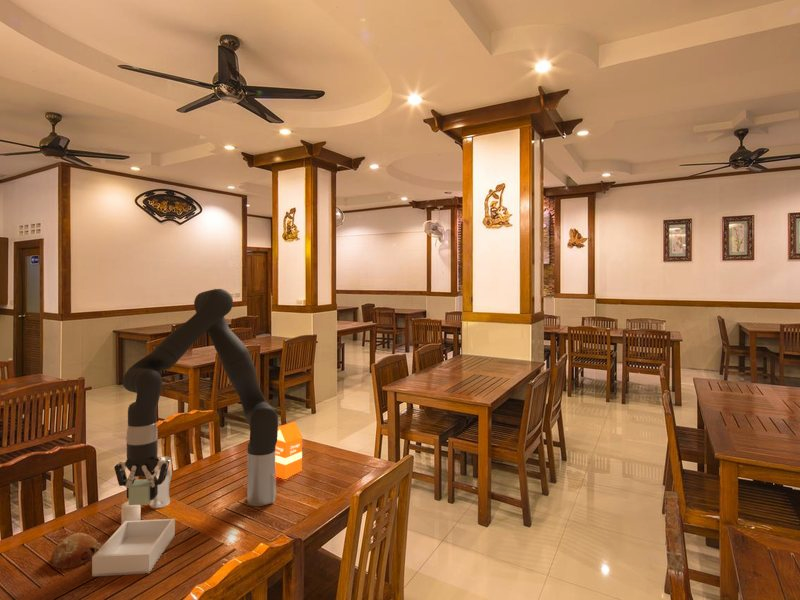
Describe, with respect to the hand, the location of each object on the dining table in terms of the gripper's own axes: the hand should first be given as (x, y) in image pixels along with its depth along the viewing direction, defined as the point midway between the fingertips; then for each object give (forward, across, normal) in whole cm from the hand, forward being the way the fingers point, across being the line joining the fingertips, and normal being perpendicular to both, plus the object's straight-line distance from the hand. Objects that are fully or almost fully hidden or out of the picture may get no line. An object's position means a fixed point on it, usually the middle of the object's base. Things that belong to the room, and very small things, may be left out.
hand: (142, 498), depth 127 cm
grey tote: (+14, 0, +4) cm, 14 cm away
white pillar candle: (+14, +8, -11) cm, 20 cm away
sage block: (0, 0, 0) cm, 0 cm away
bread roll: (+14, +15, +4) cm, 21 cm away
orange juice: (+14, -34, -46) cm, 59 cm away
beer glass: (+14, +5, -25) cm, 29 cm away
